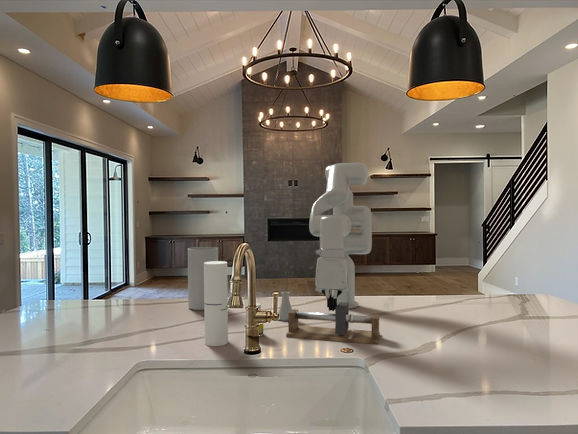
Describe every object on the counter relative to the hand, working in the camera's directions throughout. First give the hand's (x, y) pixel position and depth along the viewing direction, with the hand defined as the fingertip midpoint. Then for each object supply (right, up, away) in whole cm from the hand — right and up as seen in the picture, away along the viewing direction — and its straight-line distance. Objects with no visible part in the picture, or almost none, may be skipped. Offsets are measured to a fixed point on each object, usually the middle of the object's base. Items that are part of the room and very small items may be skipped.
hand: (332, 309), depth 136 cm
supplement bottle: (-25, -9, +1) cm, 27 cm away
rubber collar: (+3, -7, -1) cm, 7 cm away
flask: (-15, -8, +21) cm, 27 cm away
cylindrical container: (-37, -9, -6) cm, 38 cm away
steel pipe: (0, -4, 0) cm, 4 cm away
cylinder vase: (-50, -8, +41) cm, 65 cm away
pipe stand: (0, -9, 0) cm, 9 cm away
